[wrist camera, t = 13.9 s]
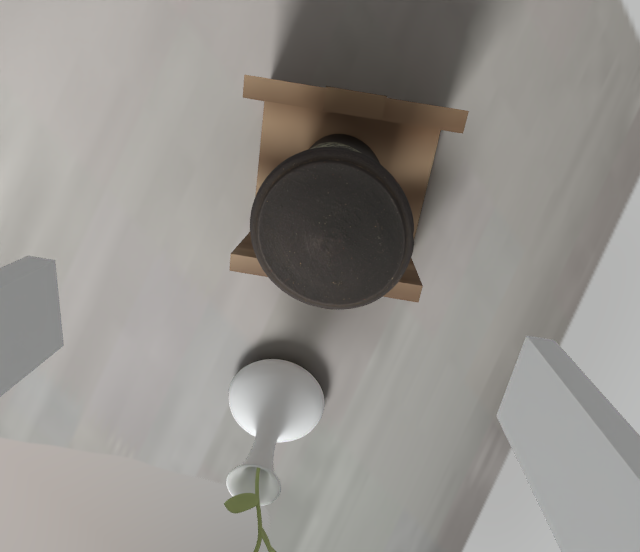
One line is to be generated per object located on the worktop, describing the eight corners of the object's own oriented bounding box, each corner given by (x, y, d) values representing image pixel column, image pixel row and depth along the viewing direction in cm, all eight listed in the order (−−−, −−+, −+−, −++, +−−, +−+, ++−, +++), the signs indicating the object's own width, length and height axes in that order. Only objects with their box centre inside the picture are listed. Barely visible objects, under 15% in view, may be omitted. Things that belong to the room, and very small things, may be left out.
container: (366, 115, 37) (380, 117, 19) (400, 208, 40) (441, 289, 22) (279, 154, 39) (214, 191, 21) (317, 240, 42) (289, 341, 23)
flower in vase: (222, 357, 50) (106, 571, 26) (316, 346, 48) (282, 563, 25) (247, 443, 54) (168, 692, 31) (334, 435, 53) (320, 691, 29)
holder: (269, 83, 38) (235, 71, 27) (441, 111, 38) (478, 110, 27) (254, 239, 44) (221, 281, 33) (405, 264, 44) (422, 315, 33)
